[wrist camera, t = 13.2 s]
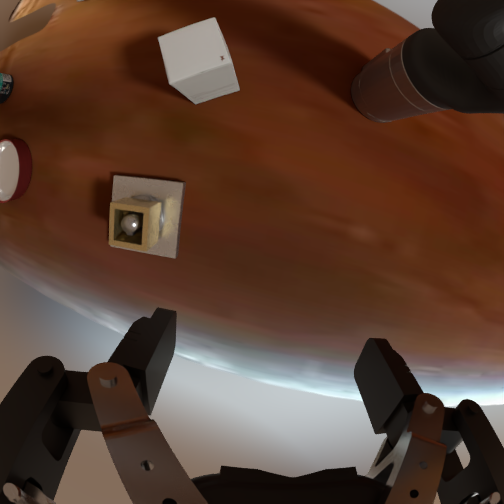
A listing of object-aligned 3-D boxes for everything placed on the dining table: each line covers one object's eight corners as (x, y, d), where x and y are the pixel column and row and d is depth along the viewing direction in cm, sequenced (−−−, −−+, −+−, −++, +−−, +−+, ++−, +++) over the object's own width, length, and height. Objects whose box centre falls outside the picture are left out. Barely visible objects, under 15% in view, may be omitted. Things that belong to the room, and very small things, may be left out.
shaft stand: (118, 174, 40) (96, 178, 34) (185, 182, 41) (172, 186, 34) (114, 243, 44) (94, 257, 38) (177, 255, 45) (165, 271, 38)
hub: (125, 197, 39) (110, 202, 34) (161, 202, 39) (149, 207, 35) (123, 235, 41) (108, 244, 36) (158, 241, 41) (146, 251, 37)
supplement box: (227, 51, 34) (217, 15, 22) (240, 91, 36) (233, 64, 24) (182, 66, 35) (156, 36, 23) (193, 105, 37) (168, 85, 25)
